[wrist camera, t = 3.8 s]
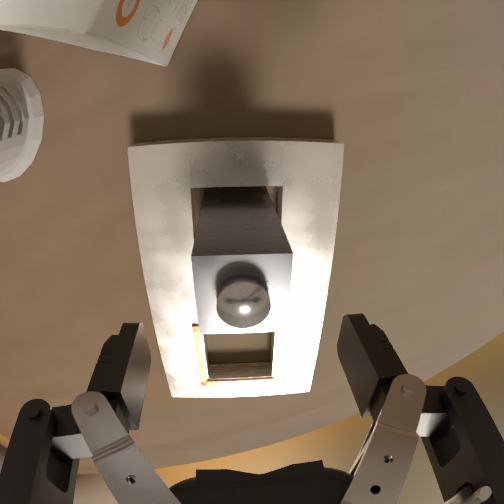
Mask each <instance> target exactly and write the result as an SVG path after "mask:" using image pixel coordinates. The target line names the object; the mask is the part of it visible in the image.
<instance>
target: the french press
mask: <svg viewBox="0 0 504 504" xmlns="http://www.w3.org/2000/svg"><path fill="white" fill-rule="evenodd" d="M43 122H44V112H43V107H42V101H41V95H40V92H39V90H38V89H37V87H36V85H35V84H34V82H33V80H32V79H31V77H30V76H29V75H27V74H25V73H23V72H22V71H20V70H18V69H16V68H9V69H0V181H1V182H7V181H9V180H12V179H14V178H16V177H19V176H21V174H22V173H23V172H24V171H25V170H26V169H27V168H28V166H29V165H30V164H31V163H32V162H33V160H34V158H35V155H36V153H37V150H38V148H39V145H40V143H41V141H42V131H43Z"/></svg>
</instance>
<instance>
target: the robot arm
mask: <svg viewBox="0 0 504 504" xmlns="http://www.w3.org/2000/svg"><path fill="white" fill-rule="evenodd" d="M337 352H338V357H339V359H340V362H341V364H342V367H343V369H344V372H345V374H346V377H347V379H348V382H349V385H350V387H351V390H352V392H353V395H354V397H355V400H356V403H357V405H358V408H359V411H360V413H361V416H362V417H367V416H372V418H373V420H374V421H373V423H372V425H371V427H370V430H369V432H368V434H367V436H366V439H365V441H364V443H363V446H362V448H361V450H360V452H359V454H358V456H357V458H356V460H355V462H354V464H353V466H352V468H351V469H350V471H349V473H347V472H344V471H341V470H337V469H333V468H326V467H324V466H323V462H322V460H320V461H313V462H307V463H300V464H292V465H289V466H286V467H284V468H281V469H277V470H275V471H271V472H268V473H265V474H252V473H245V472H240V471H234V470H227V469H221V470H196V477H193V478H189V479H186V480H183V481H181V482H179V483H177V484H175V485H173V486H172V487H170V488H168V487H167V486H166V485H165V483H164V482H163V481H162V479H161V478H160V477H159V475H158V474H157V473H156V471H155V470H154V469H153V467H152V466H151V465H150V463H149V462H148V461H147V459H146V458H145V456H144V455H143V454H142V452H141V451H140V449H139V448H138V446H137V445H136V444H135V442H134V441H133V439H132V438H130V436H129V435H128V434H129V429H130V430H138V429H139V423H140V417H141V411H142V406H143V400H144V395H145V390H146V385H147V380H148V374H149V370H150V364H151V355H150V349H149V346H148V342H147V338H146V334H145V330H144V326H143V324H142V323H123V325H122V327H121V330H120V333H119V335H112V336H111V337H110V338H109V339H108V340H107V341H106V342H105V343H104V345H103V348H102V350H101V353H100V354H101V355H99V358H98V363H97V364H96V366H95V369H94V372H93V375H92V377H91V380H90V383H89V386H88V389H87V392H85V393H82V394H80V395H79V396H77V397H76V398H75V400H74V401H73V403H72V404H71V405H66V406H60V407H53V408H51V407H50V405H49V404H48V403H47V402H46V401H45V400H42V399H33V400H30V401H28V402H27V403H25V404H24V405H23V407H22V408H21V410H20V413H19V415H18V418H17V421H16V424H15V427H14V430H13V433H12V436H11V439H10V442H9V445H8V448H7V452H6V455H5V458H4V462H3V466H2V469H1V473H0V504H73V499H74V491H75V484H76V477H77V471H78V465H79V459H80V458H84V457H91V456H92V459H93V461H94V463H95V465H96V467H97V469H98V471H99V472H100V474H101V476H102V478H103V479H104V481H105V483H106V484H107V486H108V488H109V489H110V491H111V493H112V494H113V496H114V497H115V499H116V500H117V502H118V504H396V503H397V500H398V498H399V495H400V492H401V490H402V487H403V485H404V482H405V479H406V476H407V473H408V471H409V468H410V465H411V462H412V458H413V455H414V452H415V449H416V445H417V442H418V438H419V437H421V439H422V441H423V443H424V446H425V449H426V451H427V454H428V457H429V459H430V462H431V465H432V468H433V470H434V473H435V476H436V479H437V482H438V484H439V488H440V490H441V493H442V496H443V499H444V502H445V503H444V504H504V440H503V438H502V436H501V434H500V433H499V431H498V429H497V427H496V425H495V423H494V421H493V419H492V417H491V416H490V414H489V412H488V410H487V409H486V406H485V405H484V403H483V401H482V399H481V398H480V396H479V394H478V392H477V391H476V389H475V387H474V386H473V384H472V383H471V382H470V381H469V380H467V379H465V378H462V377H453V378H451V379H449V380H448V381H447V382H446V384H445V386H427V385H425V384H424V382H423V381H422V380H421V379H419V378H418V377H416V376H414V375H410V374H408V373H407V371H406V369H405V367H404V366H403V364H402V362H401V360H400V359H399V357H398V355H397V353H396V352H395V350H394V349H393V346H392V345H391V343H390V342H389V340H388V338H387V336H386V335H385V333H384V331H382V330H381V329H380V328H379V327H377V326H376V325H375V324H372V325H369V323H368V321H367V319H366V318H365V316H364V315H363V314H362V313H361V314H350V315H345V316H344V317H343V320H342V325H341V330H340V334H339V338H338V343H337Z"/></svg>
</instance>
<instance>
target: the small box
mask: <svg viewBox="0 0 504 504" xmlns="http://www.w3.org/2000/svg"><path fill="white" fill-rule="evenodd" d="M197 1H198V0H0V30H4V31H10V32H16V33H22V34H28V35H33V36H38V37H42V38H47V39H51V40H56V41H60V42H64V43H69V44H73V45H77V46H81V47H85V48H89V49H93V50H98V51H103V52H108V53H112V54H117V55H121V56H125V57H129V58H134V59H138V60H142V61H145V62H149V63H153V64H157V65H160V66H168V64H169V61H170V59H171V56H172V54H173V52H174V50H175V47H176V45H177V43H178V41H179V39H180V36H181V34H182V32H183V30H184V28H185V26H186V24H187V21H188V19H189V17H190V15H191V13H192V11H193V9H194V7H195V5H196V3H197Z"/></svg>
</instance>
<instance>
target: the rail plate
mask: <svg viewBox="0 0 504 504" xmlns="http://www.w3.org/2000/svg"><path fill="white" fill-rule="evenodd" d="M343 153H344V143H341V142H339V141H337V140H331V139H313V138H285V137H224V138H196V139H178V140H163V141H151V142H140V143H135V144H133V145H131V146H129V147H128V159H129V171H130V181H131V190H132V199H133V207H134V215H135V222H136V229H137V236H138V243H139V249H140V255H141V261H142V267H143V273H144V278H145V284H146V289H147V294H148V299H149V304H150V309H151V314H152V318H153V323H154V327H155V332H156V336H157V341H158V345H159V349H160V353H161V357H162V361H163V365H164V369H165V373H166V377H167V380H168V384H169V388H170V391H171V395H172V397H245V396H263V395H277V394H289V393H300V392H309V390H310V385H311V381H312V376H313V371H314V366H315V361H316V356H317V351H318V346H319V340H320V335H321V329H322V323H323V318H324V312H325V306H326V299H327V293H328V287H329V280H330V273H331V266H332V259H333V251H334V243H335V235H336V227H337V218H338V209H339V199H340V189H341V178H342V166H343ZM242 186H278V204H277V215H278V217H279V219H280V222H281V224H282V227H283V229H284V232H285V234H286V236H287V239H288V241H289V244H290V246H291V249H292V251H293V265H292V278H291V290H290V302H289V313H288V324H287V331H275V332H271V349H270V362H255V363H230V364H209V360H208V351H207V342H206V334H199V327H198V319H197V310H196V301H195V292H194V282H193V272H192V262H191V254H192V249H193V244H194V239H195V234H196V217H195V201H194V188H204V187H242Z"/></svg>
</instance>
